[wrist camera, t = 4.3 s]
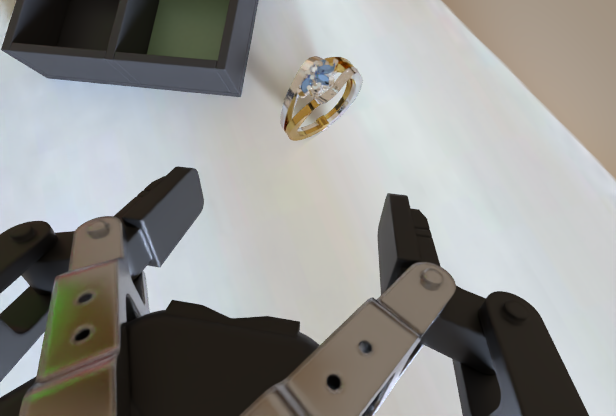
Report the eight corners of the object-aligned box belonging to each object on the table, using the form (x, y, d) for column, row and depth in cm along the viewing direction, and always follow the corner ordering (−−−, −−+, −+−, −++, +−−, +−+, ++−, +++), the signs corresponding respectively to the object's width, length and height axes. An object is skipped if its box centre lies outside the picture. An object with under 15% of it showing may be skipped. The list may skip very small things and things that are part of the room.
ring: (299, 161, 25) (285, 121, 17) (280, 132, 26) (259, 80, 18) (365, 119, 25) (382, 61, 18) (345, 92, 26) (353, 23, 18)
